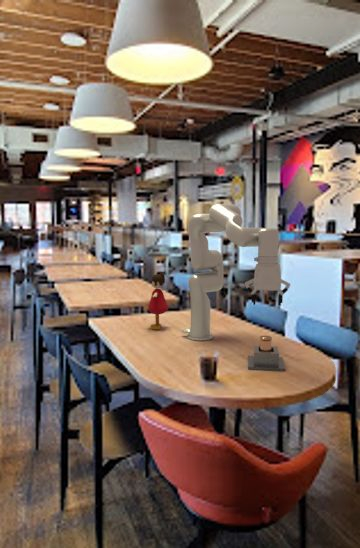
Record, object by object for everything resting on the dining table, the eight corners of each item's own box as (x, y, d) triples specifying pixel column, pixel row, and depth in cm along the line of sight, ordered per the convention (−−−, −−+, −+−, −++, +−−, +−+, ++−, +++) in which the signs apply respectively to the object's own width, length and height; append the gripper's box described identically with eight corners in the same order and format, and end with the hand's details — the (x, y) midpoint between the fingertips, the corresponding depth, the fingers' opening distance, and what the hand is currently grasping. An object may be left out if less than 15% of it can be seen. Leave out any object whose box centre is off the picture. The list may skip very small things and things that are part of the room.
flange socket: (247, 369, 162) (248, 354, 161) (247, 357, 175) (248, 343, 175) (285, 371, 159) (285, 355, 159) (282, 359, 173) (282, 345, 172)
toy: (150, 322, 237) (150, 269, 234) (170, 322, 237) (169, 269, 233) (145, 335, 211) (144, 275, 207) (167, 335, 211) (166, 275, 207)
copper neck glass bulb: (259, 363, 165) (260, 338, 164) (259, 359, 170) (259, 335, 169) (271, 363, 165) (272, 338, 163) (271, 360, 169) (271, 335, 168)
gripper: (244, 261, 160) (244, 305, 162) (291, 262, 157) (290, 307, 159) (245, 259, 167) (244, 302, 170) (290, 260, 165) (288, 303, 167)
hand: (266, 304), depth 164 cm, fingers open, 9 cm apart
